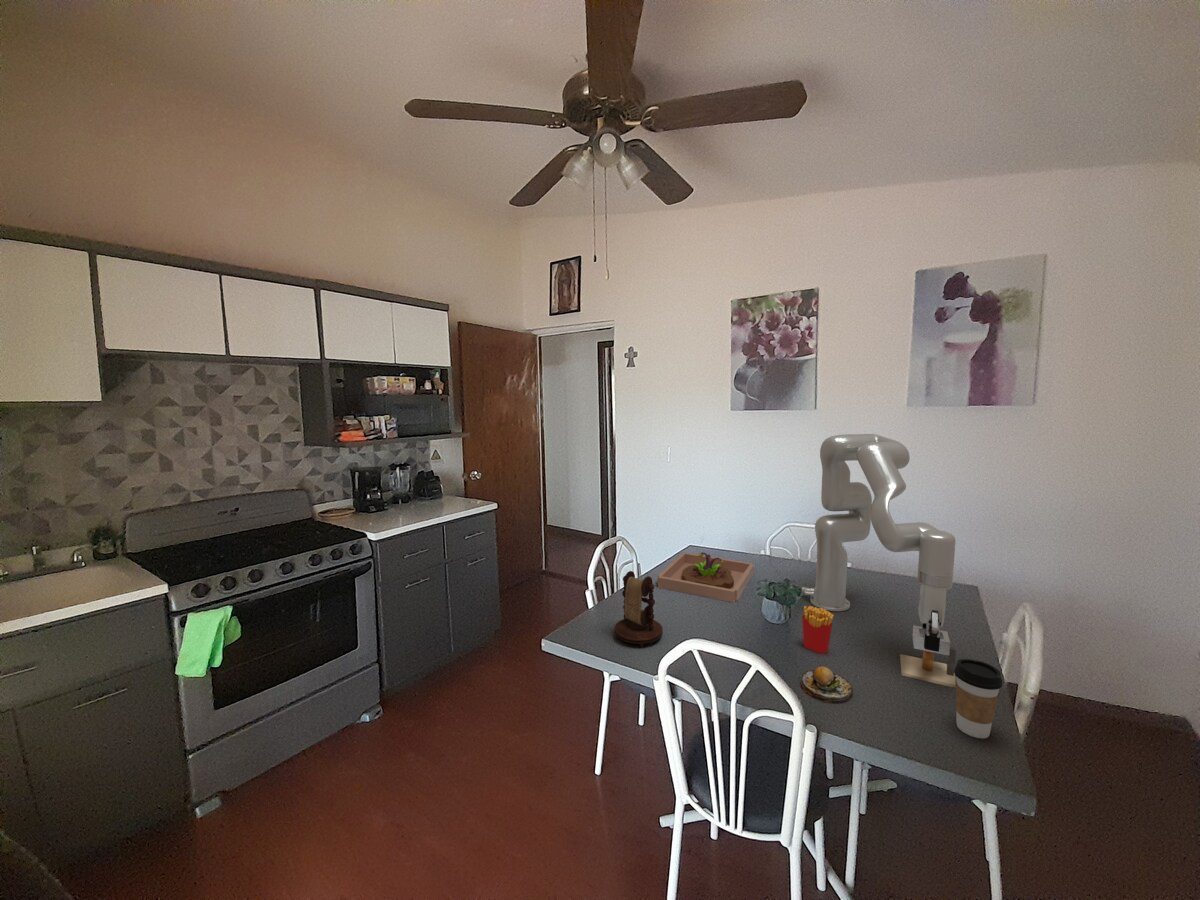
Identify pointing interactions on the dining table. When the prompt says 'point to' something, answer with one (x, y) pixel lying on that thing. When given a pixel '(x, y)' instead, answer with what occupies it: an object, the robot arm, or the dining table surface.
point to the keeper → (930, 668)
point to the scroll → (638, 612)
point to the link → (920, 638)
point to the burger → (826, 686)
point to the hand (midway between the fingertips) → (930, 643)
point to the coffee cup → (976, 696)
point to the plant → (708, 573)
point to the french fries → (817, 629)
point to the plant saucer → (673, 581)
